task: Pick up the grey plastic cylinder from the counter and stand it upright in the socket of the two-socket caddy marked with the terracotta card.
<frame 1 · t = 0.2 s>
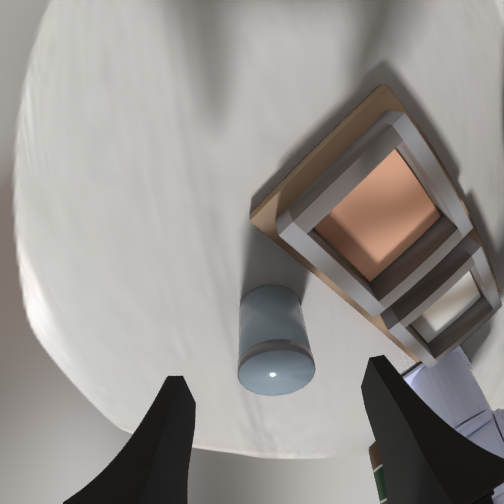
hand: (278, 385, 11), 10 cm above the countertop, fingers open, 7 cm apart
caddy: (412, 258, 19), on the countertop
grey plastic cylinder: (270, 309, 21), on the countertop
beer bottle: (389, 440, 37), on the countertop
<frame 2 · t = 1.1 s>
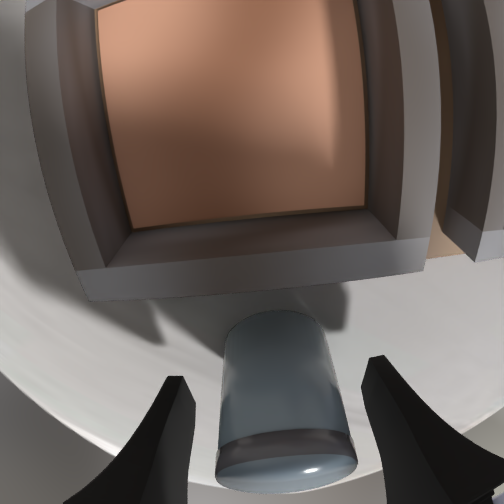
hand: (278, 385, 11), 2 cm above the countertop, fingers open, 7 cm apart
caddy: (411, 92, 7), on the countertop
grey plastic cylinder: (275, 348, 12), on the countertop
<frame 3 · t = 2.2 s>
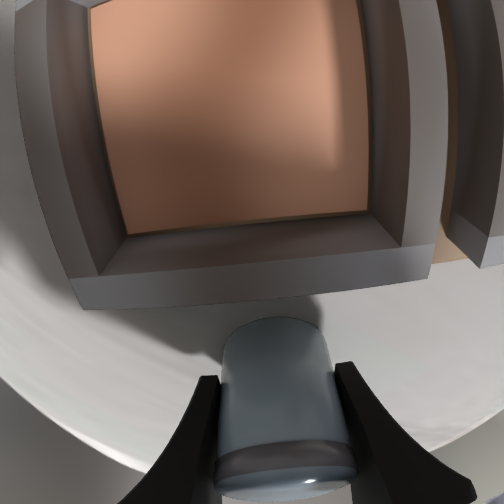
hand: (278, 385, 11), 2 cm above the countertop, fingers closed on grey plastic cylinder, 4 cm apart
caddy: (415, 93, 7), on the countertop
grey plastic cylinder: (275, 355, 12), on the countertop, touching gripper
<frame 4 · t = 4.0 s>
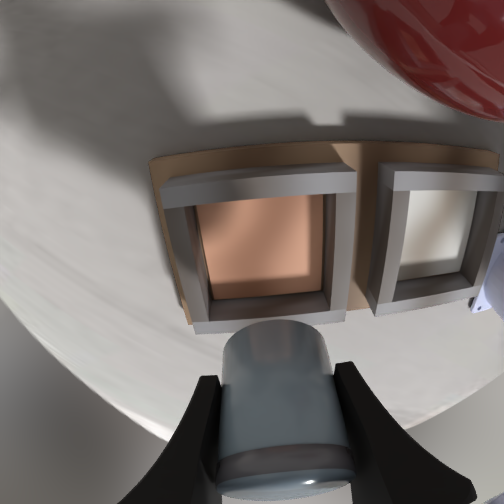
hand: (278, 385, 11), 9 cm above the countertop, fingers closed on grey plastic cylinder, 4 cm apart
caddy: (352, 230, 17), on the countertop
round-bottom flask: (395, 3, 10), on the countertop
grey plastic cylinder: (275, 355, 12), point 7 cm above the countertop, touching gripper
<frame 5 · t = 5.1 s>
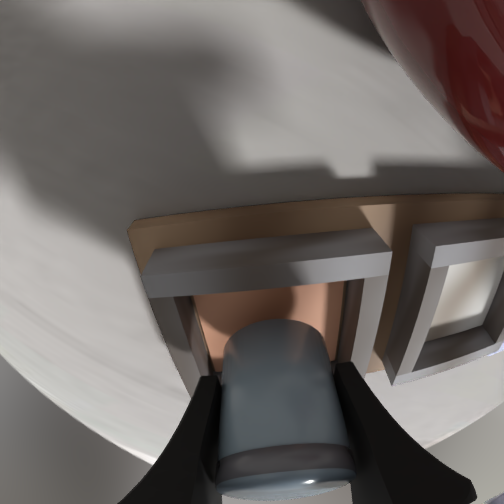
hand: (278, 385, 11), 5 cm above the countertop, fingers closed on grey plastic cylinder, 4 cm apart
caddy: (373, 296, 14), on the countertop
round-bottom flask: (437, 15, 8), on the countertop
grey plastic cylinder: (275, 355, 12), point 3 cm above the countertop, touching gripper
when the fingers open (5 cm above the countertop, at t = 5.8 s): grey plastic cylinder drops 2 cm, resting on caddy.
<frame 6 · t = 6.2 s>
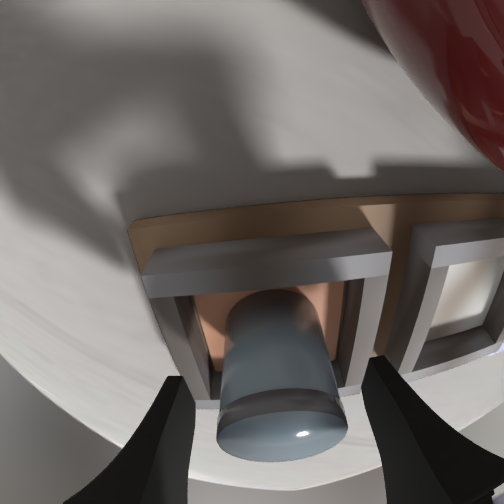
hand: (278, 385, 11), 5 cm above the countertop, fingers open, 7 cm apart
caddy: (374, 296, 14), on the countertop
round-bottom flask: (437, 16, 8), on the countertop
grey plastic cylinder: (272, 326, 14), point 1 cm above the countertop, touching caddy
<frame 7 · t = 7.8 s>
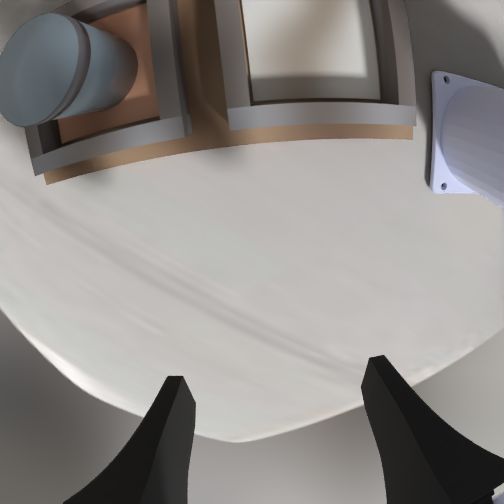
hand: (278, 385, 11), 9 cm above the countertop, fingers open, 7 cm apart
caddy: (204, 49, 12), on the countertop
grey plastic cylinder: (100, 73, 12), point 1 cm above the countertop, touching caddy
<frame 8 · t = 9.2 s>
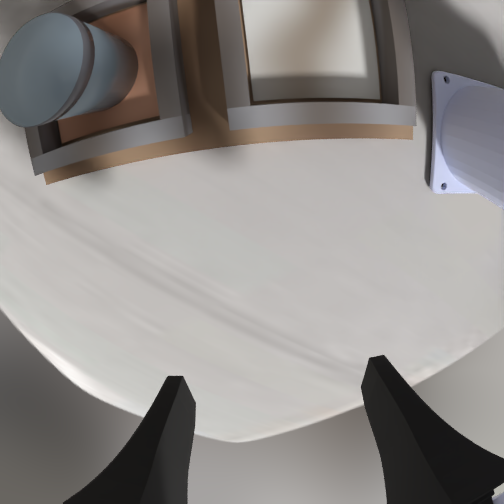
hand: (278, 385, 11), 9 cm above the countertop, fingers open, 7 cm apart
caddy: (204, 49, 12), on the countertop
grey plastic cylinder: (100, 72, 12), point 1 cm above the countertop, touching caddy
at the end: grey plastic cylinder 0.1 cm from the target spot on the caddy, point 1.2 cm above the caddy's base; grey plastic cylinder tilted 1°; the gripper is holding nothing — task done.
